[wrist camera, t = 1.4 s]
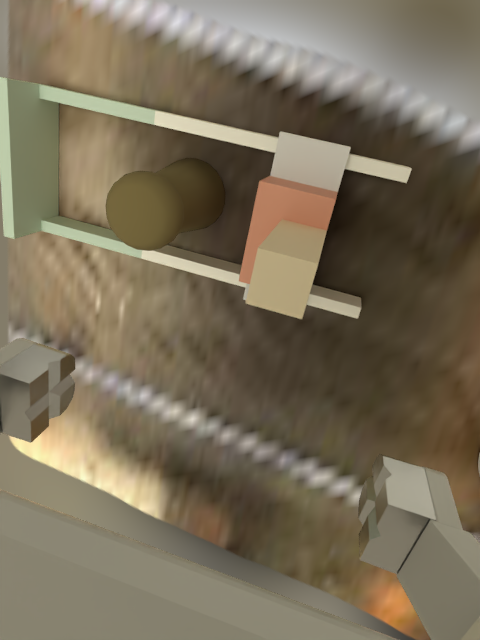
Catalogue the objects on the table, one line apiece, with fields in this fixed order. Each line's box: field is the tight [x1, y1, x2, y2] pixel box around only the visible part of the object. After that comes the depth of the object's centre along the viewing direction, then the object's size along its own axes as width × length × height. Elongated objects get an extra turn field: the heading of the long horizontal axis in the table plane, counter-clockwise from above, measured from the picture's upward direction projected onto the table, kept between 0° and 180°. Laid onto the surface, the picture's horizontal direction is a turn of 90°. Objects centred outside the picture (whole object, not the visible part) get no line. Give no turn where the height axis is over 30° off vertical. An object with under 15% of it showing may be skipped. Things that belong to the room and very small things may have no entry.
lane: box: [0, 77, 412, 319], centre depth 33 cm, size 30×12×6 cm, turn 78°
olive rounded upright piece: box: [106, 158, 225, 251], centre depth 31 cm, size 6×6×11 cm
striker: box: [239, 131, 351, 319], centre depth 28 cm, size 5×13×16 cm, turn 168°
